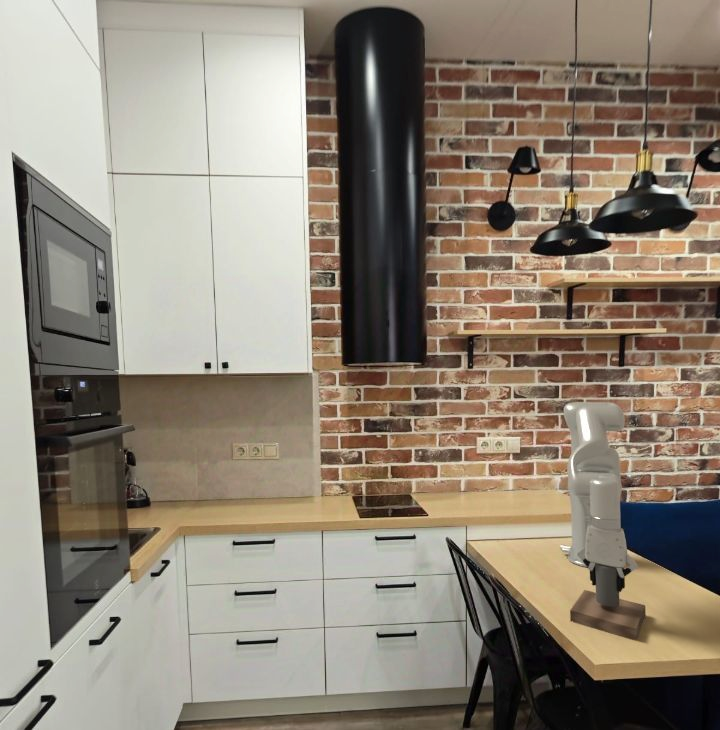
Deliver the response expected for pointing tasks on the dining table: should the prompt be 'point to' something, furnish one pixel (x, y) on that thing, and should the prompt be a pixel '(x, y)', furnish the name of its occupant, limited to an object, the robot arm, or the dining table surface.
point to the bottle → (606, 585)
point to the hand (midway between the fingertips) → (607, 586)
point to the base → (609, 615)
